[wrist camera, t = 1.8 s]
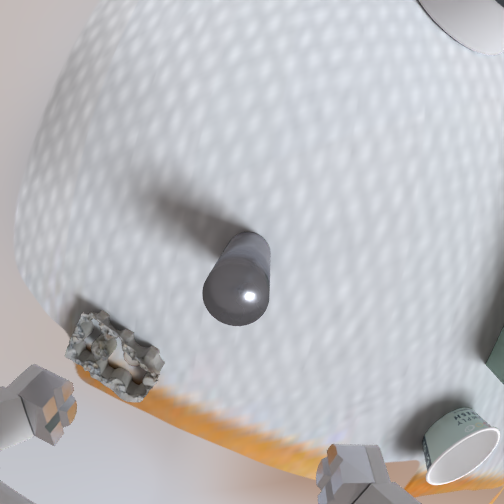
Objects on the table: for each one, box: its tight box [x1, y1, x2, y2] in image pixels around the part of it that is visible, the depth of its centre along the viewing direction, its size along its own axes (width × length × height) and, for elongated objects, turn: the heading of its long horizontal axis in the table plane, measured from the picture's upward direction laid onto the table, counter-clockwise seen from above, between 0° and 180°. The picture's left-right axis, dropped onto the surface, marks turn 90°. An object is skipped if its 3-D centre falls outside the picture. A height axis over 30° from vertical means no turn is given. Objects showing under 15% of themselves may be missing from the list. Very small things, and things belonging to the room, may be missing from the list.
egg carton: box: [65, 311, 165, 402], centre depth 30 cm, size 11×8×4 cm
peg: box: [203, 232, 271, 326], centre depth 23 cm, size 4×4×10 cm
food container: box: [422, 408, 500, 485], centre depth 30 cm, size 12×12×7 cm
